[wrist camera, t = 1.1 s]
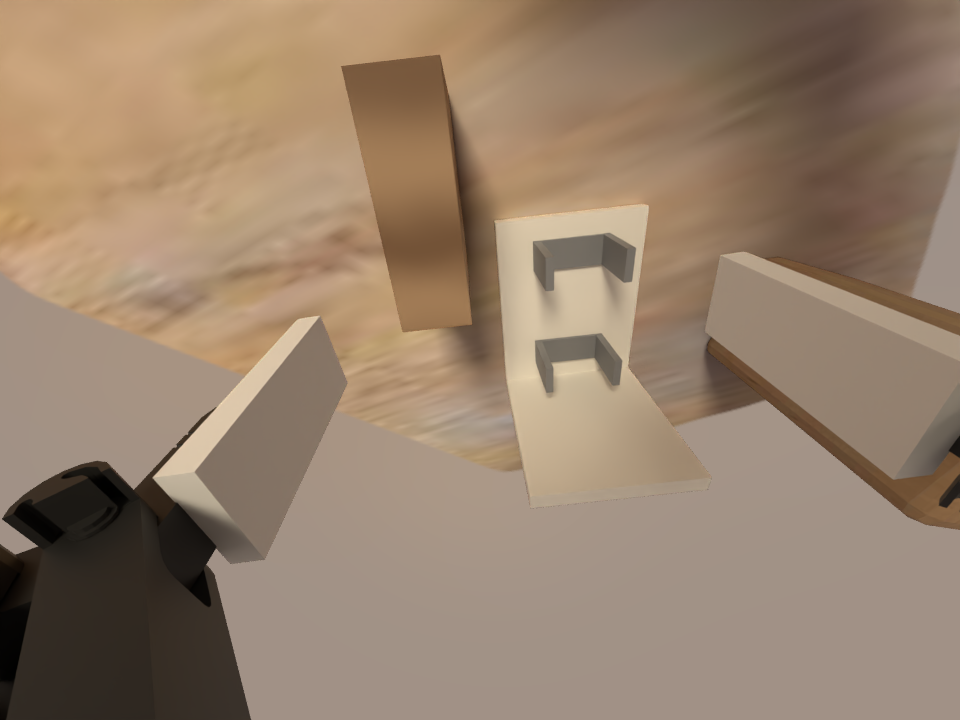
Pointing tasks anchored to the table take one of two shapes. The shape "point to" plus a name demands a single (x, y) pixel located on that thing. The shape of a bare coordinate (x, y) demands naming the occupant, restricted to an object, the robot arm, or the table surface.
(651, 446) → the l-bracket with handles
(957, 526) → the wooden block
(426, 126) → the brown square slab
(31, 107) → the table surface
